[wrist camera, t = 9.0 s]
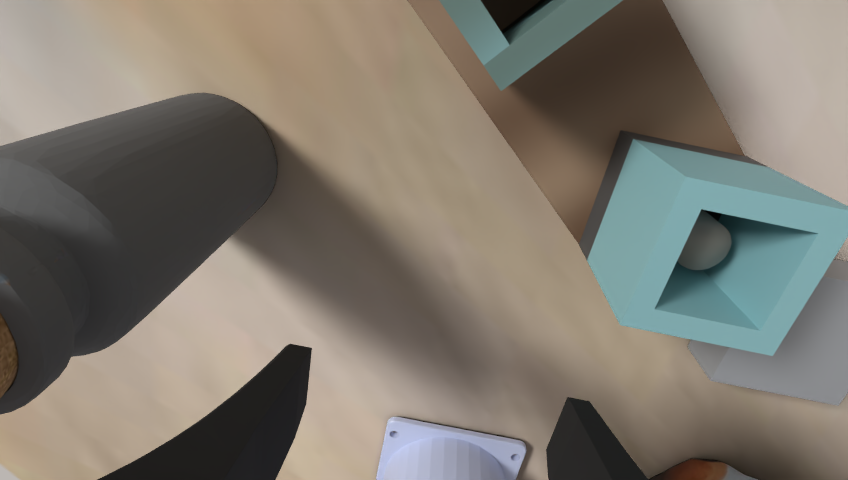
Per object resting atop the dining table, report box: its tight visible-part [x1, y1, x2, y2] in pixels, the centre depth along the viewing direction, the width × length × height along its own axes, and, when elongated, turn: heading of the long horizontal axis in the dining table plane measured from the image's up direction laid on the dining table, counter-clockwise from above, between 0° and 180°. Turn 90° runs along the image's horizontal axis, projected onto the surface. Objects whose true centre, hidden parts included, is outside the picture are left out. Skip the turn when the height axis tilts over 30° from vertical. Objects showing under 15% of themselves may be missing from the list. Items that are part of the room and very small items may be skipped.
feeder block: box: [687, 259, 848, 406], centre depth 22 cm, size 6×6×2 cm
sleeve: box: [579, 130, 848, 356], centre depth 17 cm, size 5×5×6 cm
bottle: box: [0, 93, 277, 414], centre depth 15 cm, size 6×6×15 cm
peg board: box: [408, 0, 744, 270], centre depth 16 cm, size 18×7×8 cm, turn 38°
